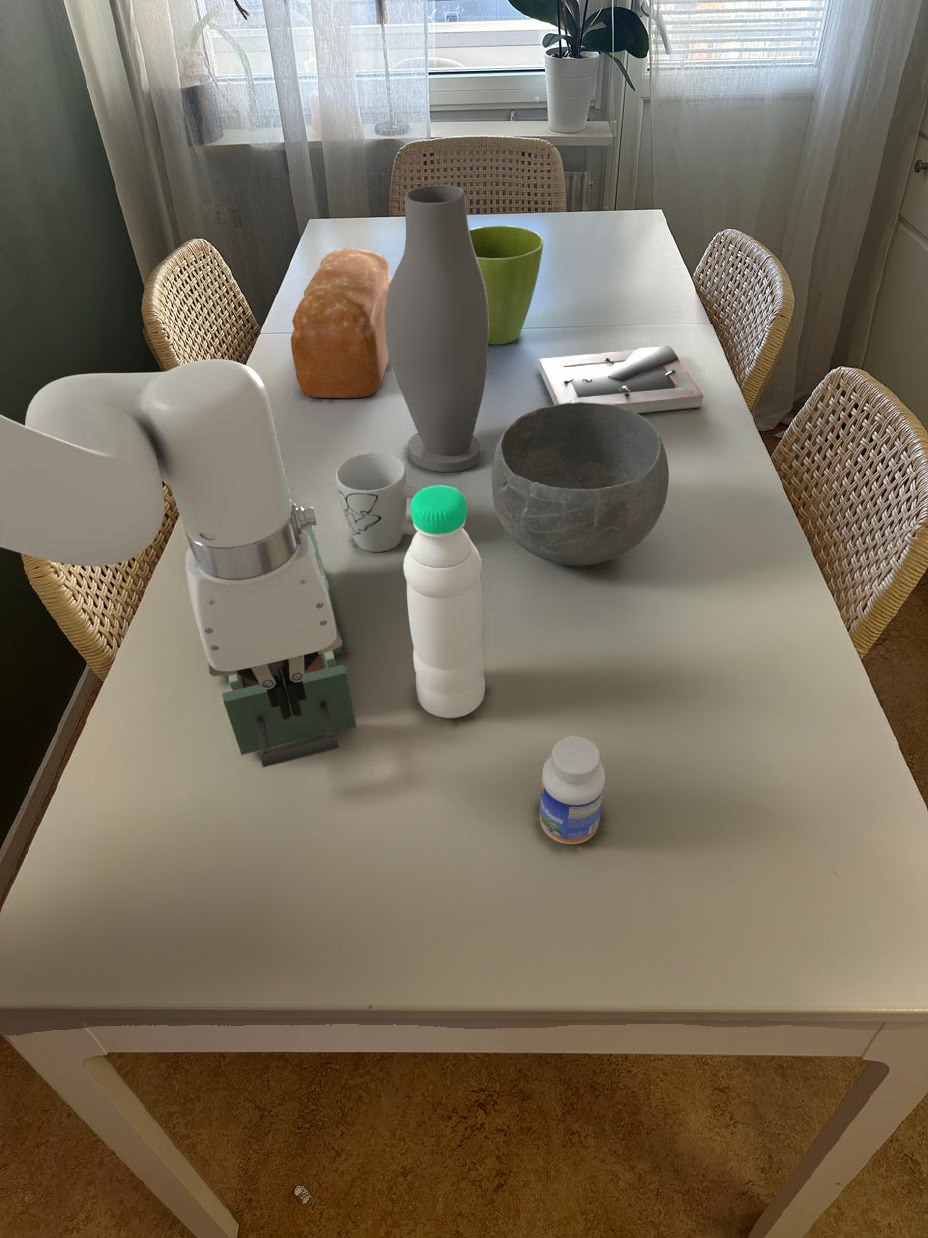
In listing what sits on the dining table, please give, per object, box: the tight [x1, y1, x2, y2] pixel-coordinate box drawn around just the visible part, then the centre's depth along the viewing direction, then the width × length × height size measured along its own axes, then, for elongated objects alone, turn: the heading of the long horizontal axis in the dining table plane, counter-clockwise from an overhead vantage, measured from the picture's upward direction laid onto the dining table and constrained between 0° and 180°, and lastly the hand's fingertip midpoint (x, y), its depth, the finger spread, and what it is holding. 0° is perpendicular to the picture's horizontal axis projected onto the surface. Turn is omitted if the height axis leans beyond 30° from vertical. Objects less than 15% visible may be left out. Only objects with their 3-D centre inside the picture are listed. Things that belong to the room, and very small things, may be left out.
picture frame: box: [538, 345, 705, 415], centre depth 135 cm, size 16×2×22 cm
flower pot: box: [469, 225, 545, 346], centre depth 146 cm, size 15×15×16 cm
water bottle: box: [403, 484, 486, 719], centre depth 82 cm, size 7×7×25 cm
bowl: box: [490, 402, 670, 567], centre depth 103 cm, size 20×20×15 cm
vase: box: [385, 184, 489, 473], centre depth 112 cm, size 13×13×35 cm
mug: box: [335, 451, 423, 553], centre depth 106 cm, size 11×8×10 cm
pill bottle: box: [539, 735, 606, 845], centre depth 75 cm, size 5×5×10 cm
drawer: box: [222, 650, 357, 768], centre depth 85 cm, size 19×11×8 cm, turn 17°
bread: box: [290, 247, 393, 399], centre depth 141 cm, size 14×26×16 cm, turn 176°
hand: (290, 705), depth 74 cm, fingers closed
